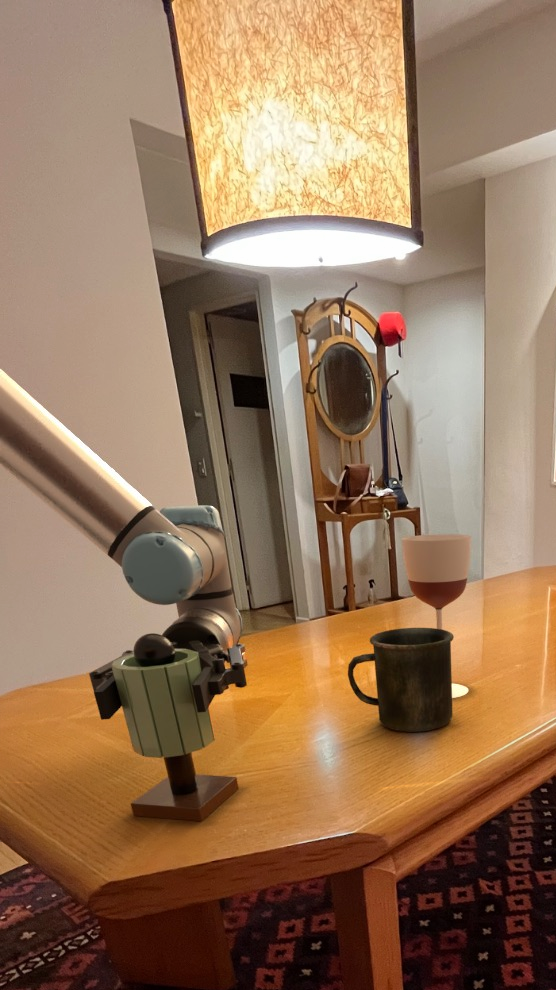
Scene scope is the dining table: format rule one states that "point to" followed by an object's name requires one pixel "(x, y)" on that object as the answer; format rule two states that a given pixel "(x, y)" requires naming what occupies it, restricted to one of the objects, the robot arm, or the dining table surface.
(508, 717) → the dining table surface
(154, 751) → the ribbed green pot
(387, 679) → the mug
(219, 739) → the dining table surface
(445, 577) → the wineglass
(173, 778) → the post stand
